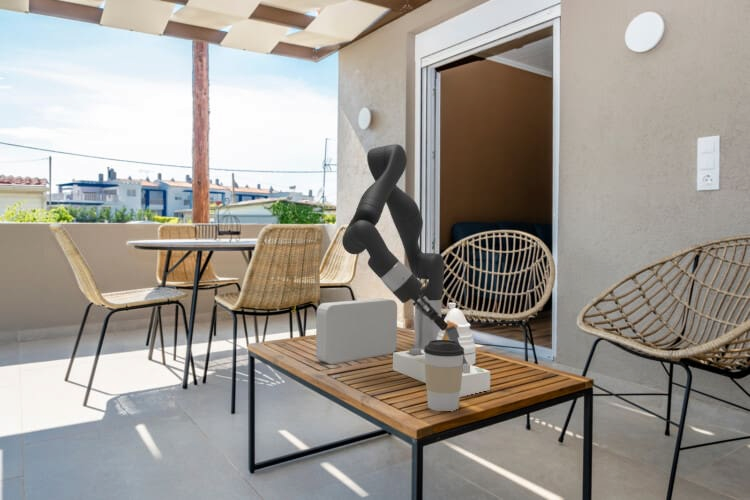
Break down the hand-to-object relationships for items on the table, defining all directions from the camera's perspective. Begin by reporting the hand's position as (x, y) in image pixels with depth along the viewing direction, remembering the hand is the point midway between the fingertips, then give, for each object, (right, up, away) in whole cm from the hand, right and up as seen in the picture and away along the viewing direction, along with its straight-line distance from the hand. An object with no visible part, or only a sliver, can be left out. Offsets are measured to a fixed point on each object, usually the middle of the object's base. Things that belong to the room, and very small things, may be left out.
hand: (445, 327), depth 135 cm
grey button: (-7, -11, +9) cm, 16 cm away
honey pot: (+6, -14, +22) cm, 27 cm away
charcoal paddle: (+4, -9, -9) cm, 13 cm away
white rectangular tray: (-2, -14, 0) cm, 14 cm away
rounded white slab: (-24, -14, +25) cm, 38 cm away
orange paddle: (-2, -8, 0) cm, 8 cm away
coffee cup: (-4, -15, -22) cm, 27 cm away
